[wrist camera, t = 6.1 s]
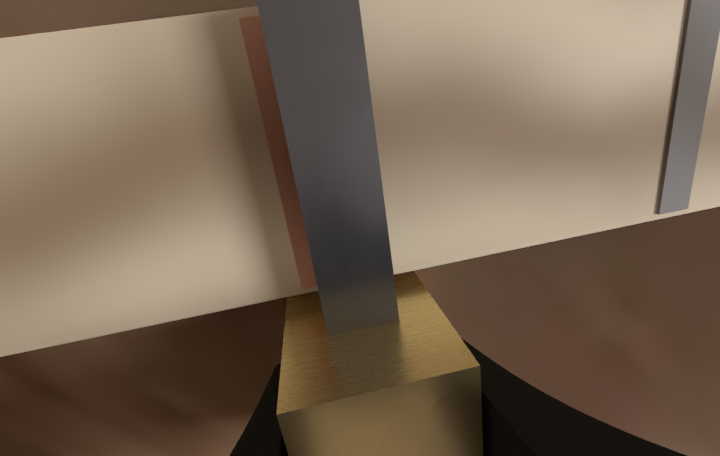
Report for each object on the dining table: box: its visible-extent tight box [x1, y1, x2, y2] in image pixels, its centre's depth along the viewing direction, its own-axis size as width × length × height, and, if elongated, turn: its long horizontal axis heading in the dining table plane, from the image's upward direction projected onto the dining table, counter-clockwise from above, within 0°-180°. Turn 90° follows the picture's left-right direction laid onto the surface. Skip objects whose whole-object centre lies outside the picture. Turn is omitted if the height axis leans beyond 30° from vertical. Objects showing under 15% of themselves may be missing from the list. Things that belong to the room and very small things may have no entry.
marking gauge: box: [257, 0, 484, 456], centre depth 8 cm, size 12×4×5 cm, turn 9°
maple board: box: [0, 0, 720, 357], centre depth 9 cm, size 7×28×2 cm, turn 99°
